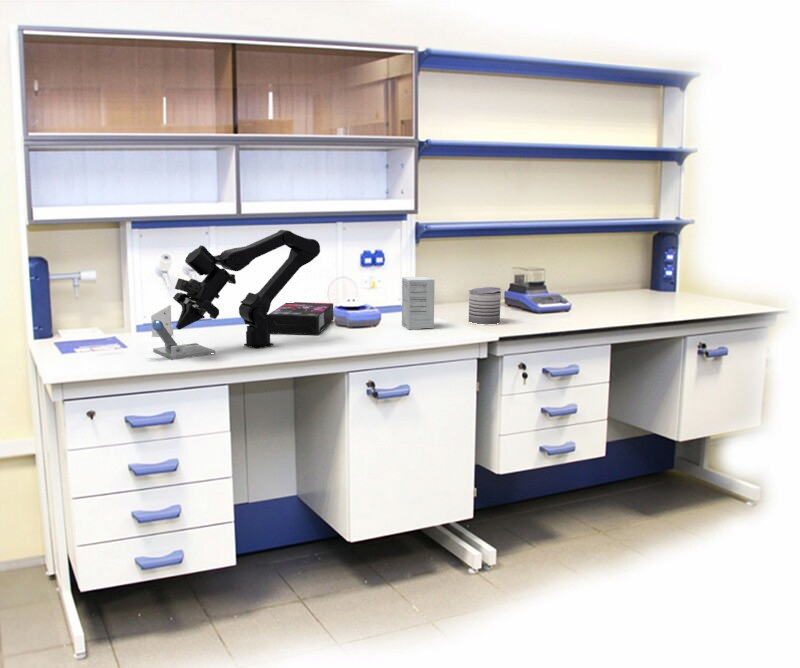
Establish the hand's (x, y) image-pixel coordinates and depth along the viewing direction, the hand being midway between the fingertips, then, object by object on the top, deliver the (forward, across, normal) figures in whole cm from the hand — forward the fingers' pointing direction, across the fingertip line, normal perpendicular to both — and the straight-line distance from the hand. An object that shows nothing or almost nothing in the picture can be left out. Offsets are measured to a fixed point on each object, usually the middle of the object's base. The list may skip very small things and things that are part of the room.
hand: (177, 328), depth 238 cm
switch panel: (+4, -4, +8) cm, 9 cm away
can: (-70, +11, +85) cm, 111 cm away
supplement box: (-53, +4, +67) cm, 85 cm away
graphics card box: (-26, -9, +34) cm, 44 cm away
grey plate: (0, -32, +12) cm, 34 cm away
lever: (+5, 0, +3) cm, 6 cm away
